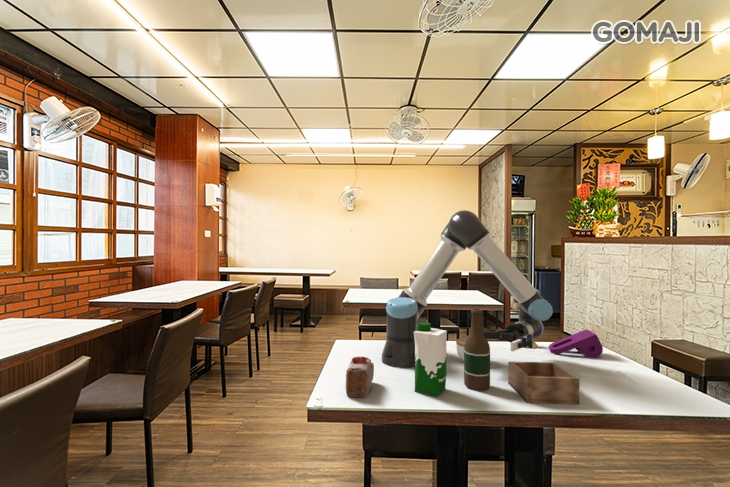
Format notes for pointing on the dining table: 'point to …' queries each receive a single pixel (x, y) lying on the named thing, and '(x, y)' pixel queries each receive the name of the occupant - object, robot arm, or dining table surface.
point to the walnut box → (543, 382)
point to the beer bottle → (477, 355)
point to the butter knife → (625, 377)
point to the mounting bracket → (579, 344)
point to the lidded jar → (460, 347)
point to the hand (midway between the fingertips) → (491, 342)
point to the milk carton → (430, 359)
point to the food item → (359, 377)
